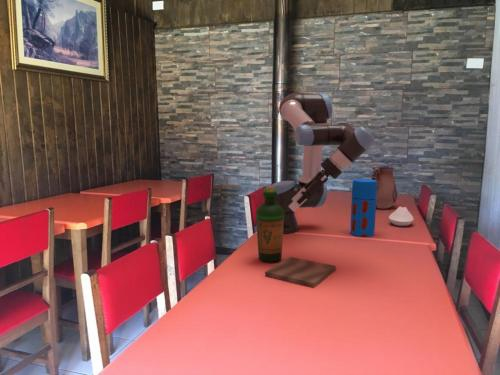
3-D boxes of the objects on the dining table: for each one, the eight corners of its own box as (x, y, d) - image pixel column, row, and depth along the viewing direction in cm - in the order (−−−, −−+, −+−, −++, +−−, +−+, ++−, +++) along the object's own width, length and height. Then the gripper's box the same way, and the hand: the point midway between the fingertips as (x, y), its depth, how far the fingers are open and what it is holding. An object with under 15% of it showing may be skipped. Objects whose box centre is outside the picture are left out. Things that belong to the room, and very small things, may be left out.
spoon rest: (413, 229, 192) (414, 214, 190) (387, 226, 196) (388, 212, 195) (413, 218, 213) (414, 205, 212) (390, 216, 218) (390, 203, 216)
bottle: (264, 266, 143) (264, 189, 138) (251, 257, 152) (250, 185, 148) (289, 261, 148) (290, 187, 143) (274, 253, 157) (275, 183, 152)
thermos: (375, 237, 177) (378, 182, 173) (351, 236, 179) (353, 181, 175) (372, 231, 188) (375, 179, 184) (349, 230, 190) (351, 178, 185)
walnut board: (265, 275, 134) (265, 271, 133) (290, 260, 148) (290, 256, 148) (314, 287, 124) (314, 283, 124) (335, 269, 139) (335, 265, 138)
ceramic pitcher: (399, 206, 242) (401, 165, 238) (391, 213, 225) (393, 169, 221) (370, 203, 252) (372, 164, 248) (360, 209, 234) (362, 167, 230)
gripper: (345, 176, 127) (297, 220, 132) (341, 167, 151) (301, 205, 156) (328, 159, 127) (281, 204, 132) (327, 154, 151) (288, 192, 156)
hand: (292, 205), depth 144 cm, fingers open, 13 cm apart
